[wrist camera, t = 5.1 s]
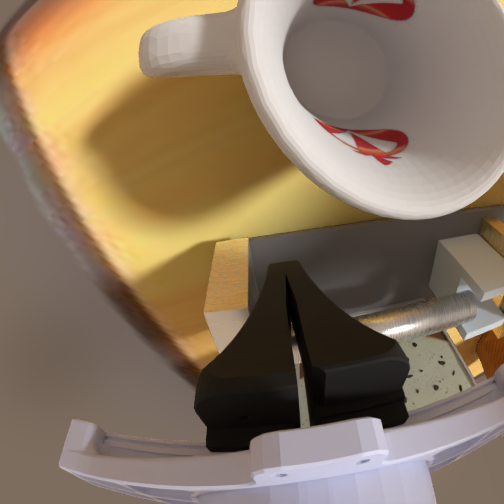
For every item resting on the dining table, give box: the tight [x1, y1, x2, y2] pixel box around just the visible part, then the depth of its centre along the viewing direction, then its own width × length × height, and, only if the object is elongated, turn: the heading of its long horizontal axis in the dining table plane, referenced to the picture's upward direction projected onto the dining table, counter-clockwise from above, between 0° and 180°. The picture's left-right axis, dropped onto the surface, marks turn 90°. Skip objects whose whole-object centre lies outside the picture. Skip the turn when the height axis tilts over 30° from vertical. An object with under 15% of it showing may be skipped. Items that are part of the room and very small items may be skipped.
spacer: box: [478, 216, 504, 339], centre depth 13 cm, size 6×1×5 cm, turn 9°
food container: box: [295, 297, 477, 428], centre depth 16 cm, size 12×6×10 cm, turn 100°
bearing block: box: [429, 234, 504, 340], centre depth 14 cm, size 4×4×6 cm
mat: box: [248, 205, 504, 326], centre depth 16 cm, size 7×21×1 cm, turn 99°
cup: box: [139, 0, 504, 220], centre depth 7 cm, size 11×8×8 cm
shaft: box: [203, 237, 477, 364], centre depth 13 cm, size 6×13×5 cm, turn 99°
